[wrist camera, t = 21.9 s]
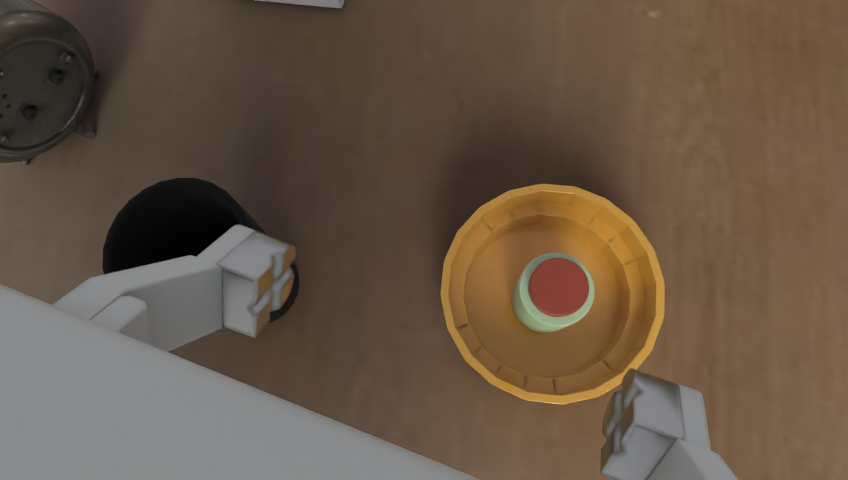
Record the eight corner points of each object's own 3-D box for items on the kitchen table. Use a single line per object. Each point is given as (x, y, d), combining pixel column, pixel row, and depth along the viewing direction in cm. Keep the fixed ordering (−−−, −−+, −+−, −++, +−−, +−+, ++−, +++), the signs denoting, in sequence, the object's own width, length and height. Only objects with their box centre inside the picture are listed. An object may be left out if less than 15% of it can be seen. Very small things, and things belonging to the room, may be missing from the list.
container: (572, 337, 37) (595, 329, 30) (508, 328, 37) (516, 319, 31) (577, 274, 38) (601, 253, 31) (514, 266, 38) (524, 244, 32)
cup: (238, 216, 41) (147, 156, 30) (331, 255, 40) (275, 208, 28) (188, 314, 40) (73, 291, 28) (284, 357, 39) (204, 352, 27)
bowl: (636, 410, 36) (662, 416, 31) (434, 386, 38) (429, 388, 33) (642, 215, 39) (667, 193, 34) (454, 199, 40) (452, 175, 35)
